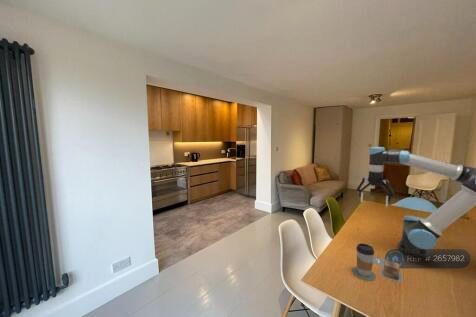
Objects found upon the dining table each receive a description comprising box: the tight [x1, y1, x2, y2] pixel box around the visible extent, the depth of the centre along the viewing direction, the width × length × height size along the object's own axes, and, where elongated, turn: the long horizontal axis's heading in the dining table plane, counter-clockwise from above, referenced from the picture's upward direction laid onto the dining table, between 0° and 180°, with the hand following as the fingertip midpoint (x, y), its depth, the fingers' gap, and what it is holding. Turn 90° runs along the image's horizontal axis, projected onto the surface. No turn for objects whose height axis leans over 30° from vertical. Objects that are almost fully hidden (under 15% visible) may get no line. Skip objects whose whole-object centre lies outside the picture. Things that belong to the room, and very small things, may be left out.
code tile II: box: [379, 267, 403, 284], centre depth 109 cm, size 9×9×1 cm
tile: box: [373, 255, 386, 268], centre depth 123 cm, size 9×9×1 cm
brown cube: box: [383, 259, 400, 280], centre depth 109 cm, size 6×6×6 cm
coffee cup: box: [355, 242, 375, 277], centre depth 110 cm, size 8×8×15 cm
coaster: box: [351, 266, 377, 282], centre depth 110 cm, size 11×11×1 cm
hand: (373, 203), depth 130 cm, fingers open, 13 cm apart
